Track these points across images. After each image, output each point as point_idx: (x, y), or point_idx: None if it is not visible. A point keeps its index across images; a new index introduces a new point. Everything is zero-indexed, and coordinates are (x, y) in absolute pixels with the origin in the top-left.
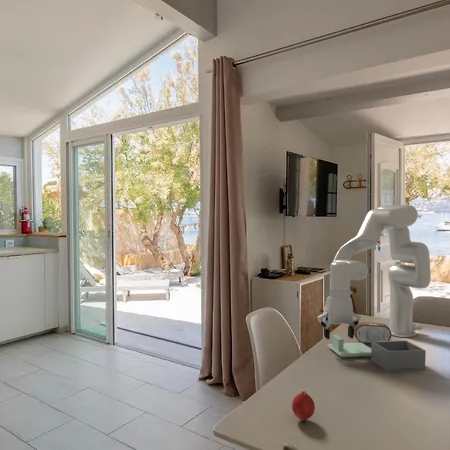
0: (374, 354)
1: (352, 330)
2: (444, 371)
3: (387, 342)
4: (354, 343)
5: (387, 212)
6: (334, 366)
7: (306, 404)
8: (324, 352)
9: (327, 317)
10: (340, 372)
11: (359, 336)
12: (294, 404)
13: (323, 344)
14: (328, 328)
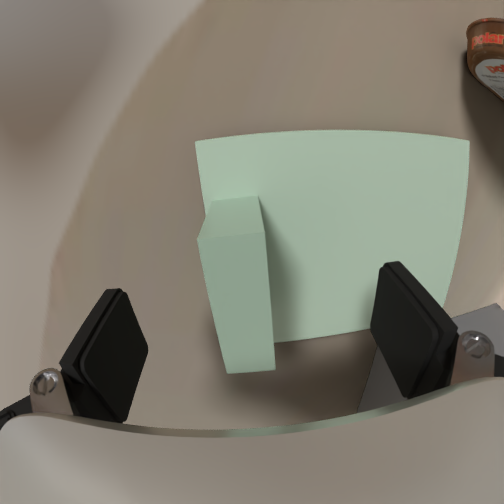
0: (386, 384)
1: (405, 386)
2: None
3: None
4: (425, 151)
5: None
6: (178, 388)
7: None
8: (156, 225)
9: (19, 461)
10: (191, 418)
11: (491, 70)
12: None
13: (197, 47)
14: (109, 418)
